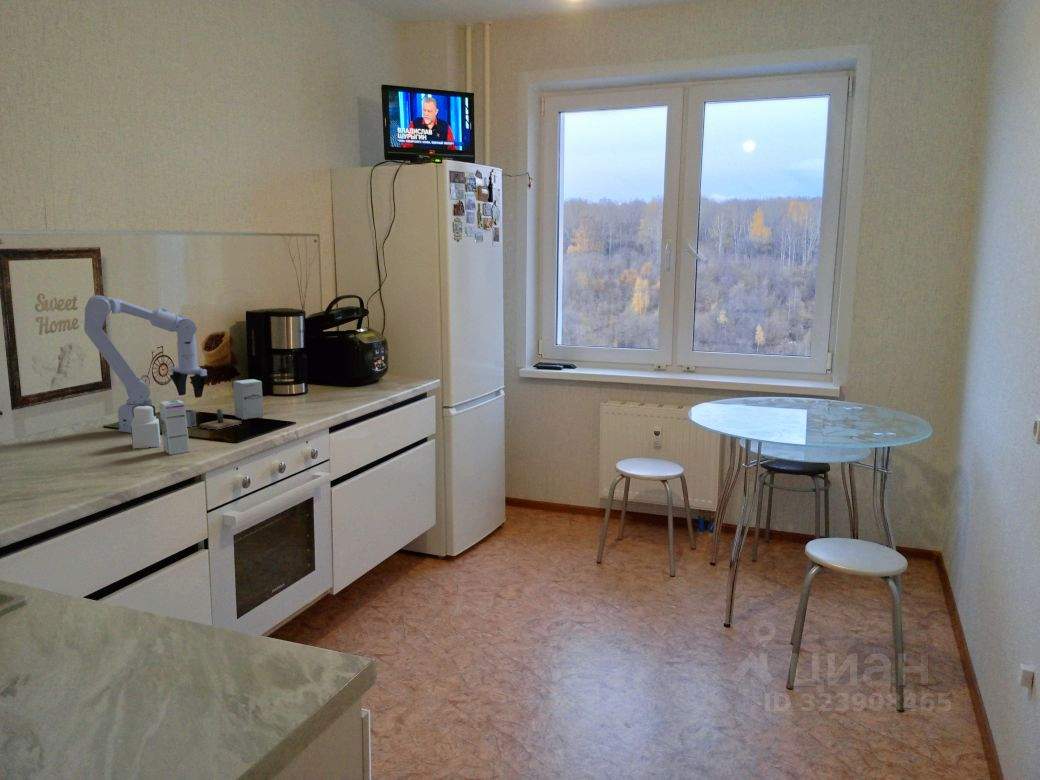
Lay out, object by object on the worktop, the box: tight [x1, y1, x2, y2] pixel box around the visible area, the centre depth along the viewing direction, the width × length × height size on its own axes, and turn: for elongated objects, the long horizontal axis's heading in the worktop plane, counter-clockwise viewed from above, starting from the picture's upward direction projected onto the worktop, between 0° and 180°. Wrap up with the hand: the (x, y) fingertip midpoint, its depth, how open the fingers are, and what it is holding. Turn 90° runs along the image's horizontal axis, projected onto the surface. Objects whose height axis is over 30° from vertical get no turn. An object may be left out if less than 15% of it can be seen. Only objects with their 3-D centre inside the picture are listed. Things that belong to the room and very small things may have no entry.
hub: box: [185, 409, 197, 428], centre depth 252 cm, size 4×4×5 cm
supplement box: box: [232, 378, 264, 420], centre depth 266 cm, size 7×7×13 cm
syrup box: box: [158, 399, 190, 456], centre depth 220 cm, size 6×6×14 cm
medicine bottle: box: [130, 404, 161, 450], centre depth 227 cm, size 7×7×12 cm
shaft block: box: [199, 408, 242, 431], centre depth 253 cm, size 10×8×6 cm
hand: (190, 396), depth 254 cm, fingers open, 7 cm apart
